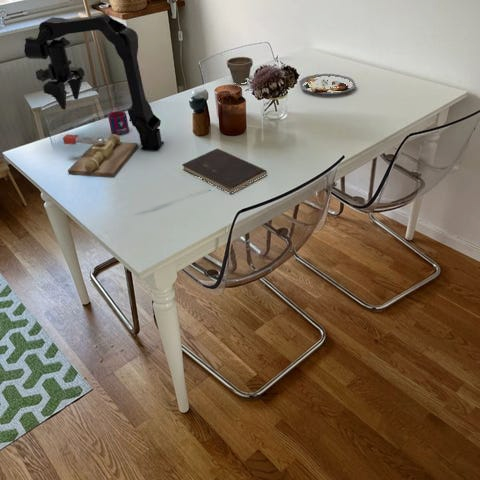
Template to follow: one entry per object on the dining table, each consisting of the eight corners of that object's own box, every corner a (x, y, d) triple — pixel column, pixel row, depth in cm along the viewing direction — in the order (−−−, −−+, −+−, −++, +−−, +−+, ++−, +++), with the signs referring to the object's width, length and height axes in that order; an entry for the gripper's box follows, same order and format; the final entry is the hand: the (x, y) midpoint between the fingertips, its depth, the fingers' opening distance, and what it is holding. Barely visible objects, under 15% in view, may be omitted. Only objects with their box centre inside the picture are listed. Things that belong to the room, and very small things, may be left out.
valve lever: (106, 142, 174) (105, 136, 173) (102, 146, 172) (101, 140, 171) (68, 140, 177) (66, 134, 176) (64, 143, 175) (62, 137, 173)
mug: (114, 136, 192) (111, 119, 188) (106, 127, 199) (102, 110, 195) (131, 132, 194) (128, 115, 190) (122, 123, 201) (119, 106, 197)
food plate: (359, 97, 212) (359, 88, 210) (302, 99, 213) (302, 91, 211) (349, 78, 233) (349, 70, 231) (297, 80, 234) (297, 72, 232)
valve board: (138, 146, 184) (135, 130, 180) (113, 177, 167) (110, 160, 163) (97, 144, 187) (93, 128, 183) (68, 174, 170) (64, 157, 166)
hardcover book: (230, 195, 155) (229, 188, 154) (182, 170, 169) (181, 164, 168) (266, 175, 164) (266, 169, 162) (218, 153, 178) (218, 147, 176)
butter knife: (219, 189, 158) (214, 184, 160) (136, 218, 147) (133, 213, 149) (219, 190, 158) (214, 186, 160) (137, 219, 148) (133, 214, 150)
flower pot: (226, 79, 236) (225, 57, 230) (251, 77, 237) (250, 55, 231) (229, 88, 227) (227, 65, 221) (254, 86, 228) (254, 63, 222)
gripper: (51, 50, 180) (62, 93, 189) (22, 67, 166) (35, 113, 175) (80, 50, 178) (89, 94, 187) (53, 68, 163) (65, 115, 173)
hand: (70, 104), depth 181 cm, fingers open, 9 cm apart
